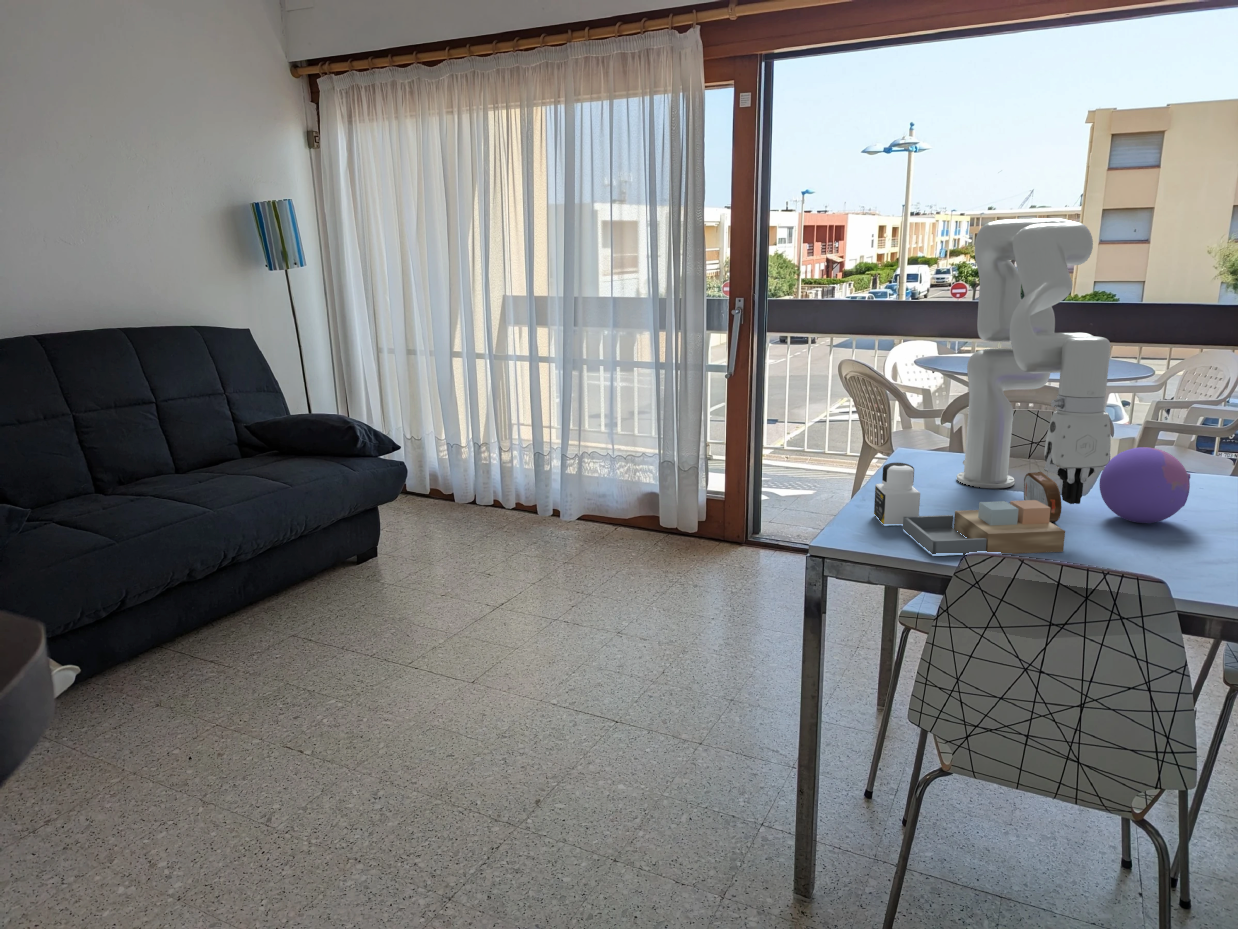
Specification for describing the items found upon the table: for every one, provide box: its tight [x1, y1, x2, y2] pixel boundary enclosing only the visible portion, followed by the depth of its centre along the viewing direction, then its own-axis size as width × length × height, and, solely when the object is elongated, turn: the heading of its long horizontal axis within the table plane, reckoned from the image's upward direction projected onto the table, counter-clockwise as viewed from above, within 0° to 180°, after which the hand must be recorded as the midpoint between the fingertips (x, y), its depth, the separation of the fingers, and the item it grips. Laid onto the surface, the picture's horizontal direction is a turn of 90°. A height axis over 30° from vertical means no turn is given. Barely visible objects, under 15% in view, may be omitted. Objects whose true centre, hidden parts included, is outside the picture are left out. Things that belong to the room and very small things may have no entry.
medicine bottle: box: [873, 462, 921, 524], centre depth 166 cm, size 7×7×12 cm
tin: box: [1023, 471, 1062, 523], centre depth 167 cm, size 15×3×8 cm, turn 172°
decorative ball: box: [1099, 446, 1191, 524], centre depth 161 cm, size 15×15×15 cm
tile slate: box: [978, 500, 1019, 525], centre depth 153 cm, size 5×5×3 cm
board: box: [953, 509, 1066, 555], centre depth 154 cm, size 14×14×4 cm
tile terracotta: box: [1009, 499, 1051, 524], centre depth 153 cm, size 5×5×3 cm
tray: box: [902, 514, 987, 555], centre depth 154 cm, size 14×10×3 cm
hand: (1071, 501), depth 152 cm, fingers closed
